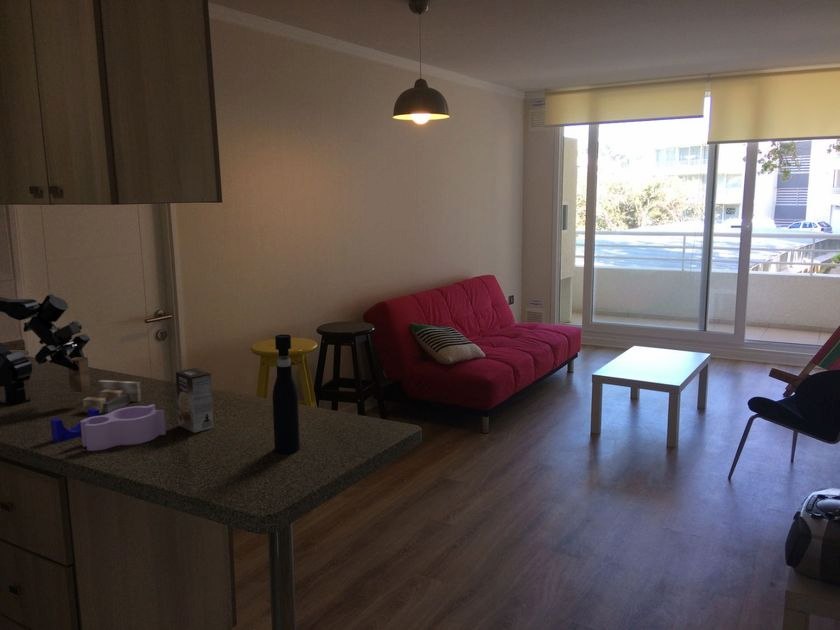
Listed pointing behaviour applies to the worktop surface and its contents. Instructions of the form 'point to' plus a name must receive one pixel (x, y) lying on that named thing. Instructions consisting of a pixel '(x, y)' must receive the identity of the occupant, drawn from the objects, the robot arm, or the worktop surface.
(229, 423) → the worktop surface
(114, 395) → the stepped pillar cluster
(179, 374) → the coffee box
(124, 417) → the purple double cup holder
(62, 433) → the cable clip
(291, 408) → the dark blue water bottle
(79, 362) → the plain brown block
